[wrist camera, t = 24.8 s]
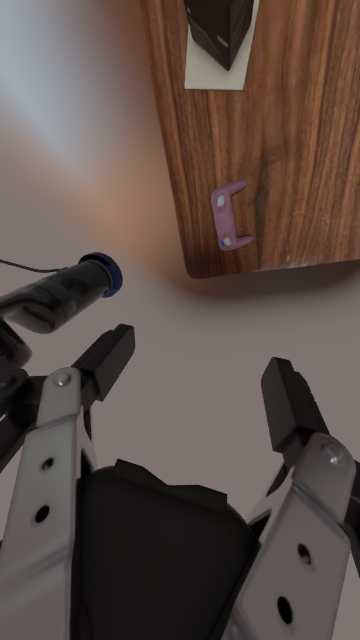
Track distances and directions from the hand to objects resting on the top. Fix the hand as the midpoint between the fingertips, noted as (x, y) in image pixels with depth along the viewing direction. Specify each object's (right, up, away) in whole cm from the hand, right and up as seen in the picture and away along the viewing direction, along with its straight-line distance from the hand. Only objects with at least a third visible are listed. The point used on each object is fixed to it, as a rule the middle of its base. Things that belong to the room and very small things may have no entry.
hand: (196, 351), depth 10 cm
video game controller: (+8, +20, +22) cm, 31 cm away
